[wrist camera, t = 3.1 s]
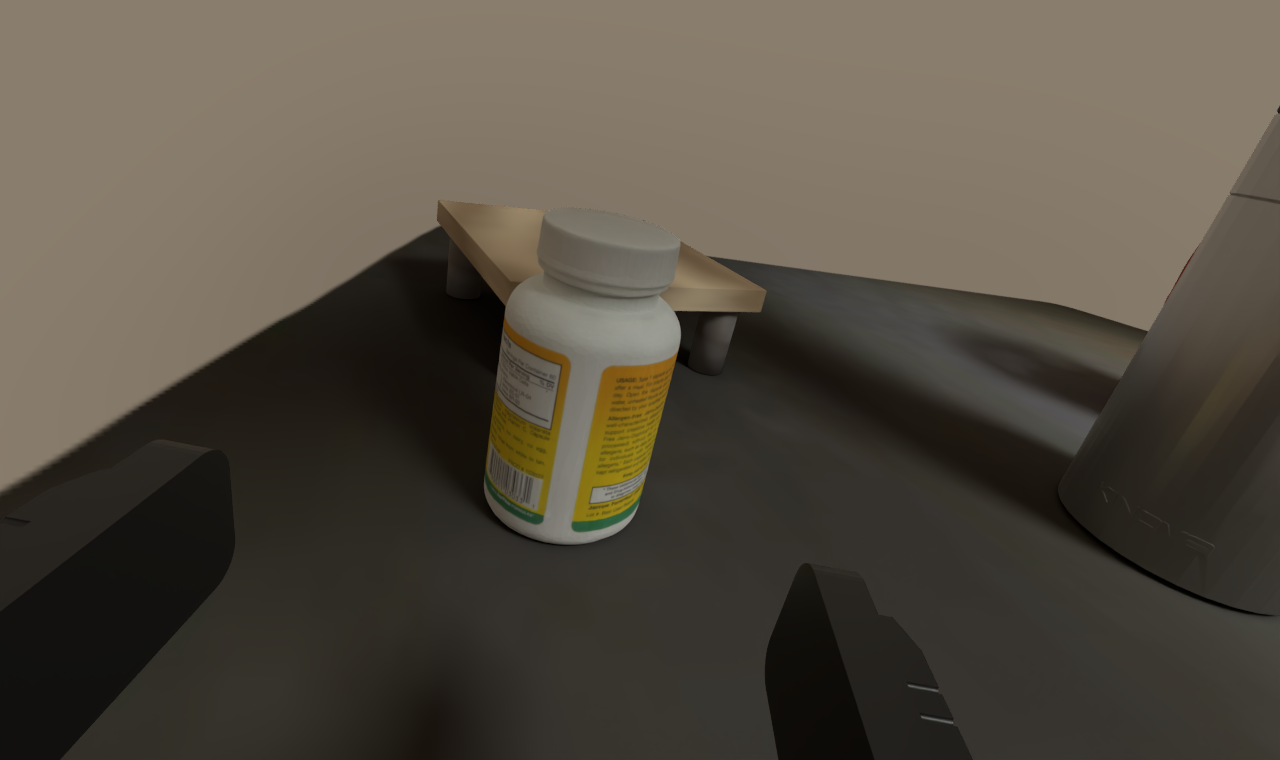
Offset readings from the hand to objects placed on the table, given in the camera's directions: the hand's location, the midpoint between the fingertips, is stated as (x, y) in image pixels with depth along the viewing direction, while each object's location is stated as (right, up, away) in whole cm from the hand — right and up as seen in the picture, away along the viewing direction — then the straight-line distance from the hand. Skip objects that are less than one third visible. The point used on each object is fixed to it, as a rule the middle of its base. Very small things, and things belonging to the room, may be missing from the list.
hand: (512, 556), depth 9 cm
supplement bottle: (-1, -2, +13) cm, 14 cm away
